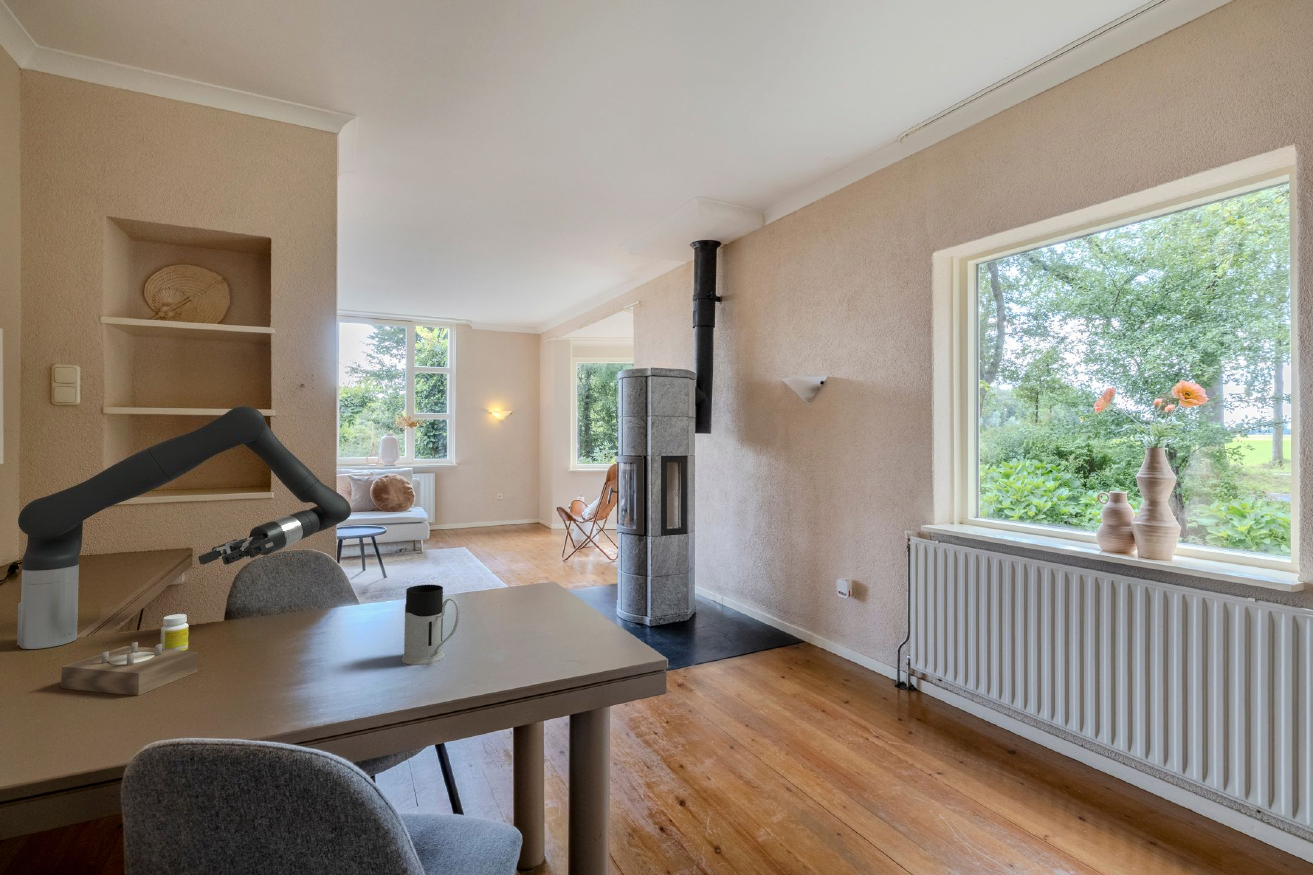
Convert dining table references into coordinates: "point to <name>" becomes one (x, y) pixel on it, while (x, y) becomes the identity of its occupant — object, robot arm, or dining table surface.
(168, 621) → the supplement bottle
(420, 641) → the glass holder
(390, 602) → the dining table surface
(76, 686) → the seat block
